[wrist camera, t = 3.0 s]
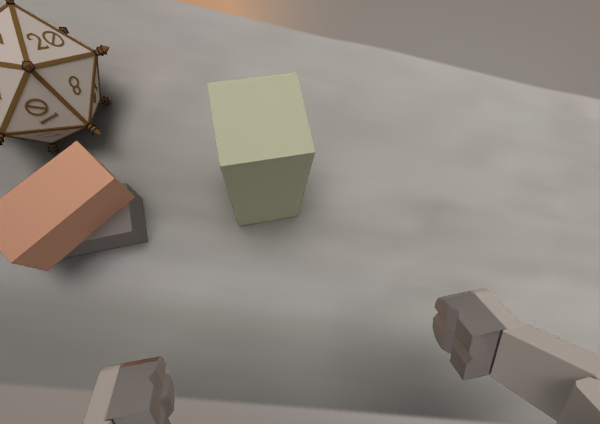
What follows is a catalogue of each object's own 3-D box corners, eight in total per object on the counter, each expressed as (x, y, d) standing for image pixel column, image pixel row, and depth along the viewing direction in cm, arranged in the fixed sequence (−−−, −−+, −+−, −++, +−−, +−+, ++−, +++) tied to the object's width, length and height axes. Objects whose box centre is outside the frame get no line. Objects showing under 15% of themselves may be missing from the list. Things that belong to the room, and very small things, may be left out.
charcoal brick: (50, 261, 23) (19, 253, 20) (47, 217, 24) (17, 203, 21) (148, 241, 24) (132, 231, 21) (142, 198, 25) (126, 183, 22)
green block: (238, 226, 24) (219, 166, 15) (230, 171, 26) (207, 82, 16) (297, 216, 25) (315, 152, 15) (286, 162, 26) (296, 72, 16)
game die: (88, 119, 30) (57, -27, 24) (151, 160, 26) (132, -1, 20) (-51, 149, 24) (-140, -35, 18) (4, 209, 20) (-86, -1, 14)
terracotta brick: (47, 270, 20) (10, 263, 17) (13, 233, 20) (-28, 219, 18) (134, 197, 22) (114, 178, 19) (101, 163, 22) (76, 140, 19)
